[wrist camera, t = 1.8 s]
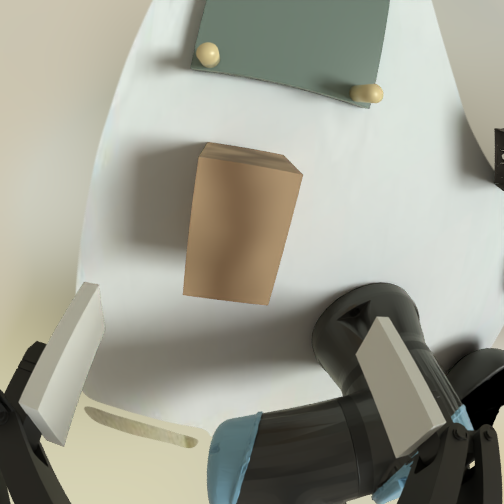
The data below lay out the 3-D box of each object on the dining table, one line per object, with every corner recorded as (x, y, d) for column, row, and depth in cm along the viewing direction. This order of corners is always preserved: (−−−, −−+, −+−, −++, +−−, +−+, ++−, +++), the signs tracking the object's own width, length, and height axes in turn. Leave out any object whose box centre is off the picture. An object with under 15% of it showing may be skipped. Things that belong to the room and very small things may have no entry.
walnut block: (283, 154, 26) (303, 174, 19) (259, 258, 31) (268, 305, 24) (207, 141, 25) (198, 156, 18) (192, 248, 30) (182, 294, 23)
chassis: (386, -21, 17) (410, -35, 13) (362, 108, 24) (387, 110, 20) (229, -64, 15) (230, -89, 10) (192, 70, 22) (184, 62, 18)
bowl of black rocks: (410, 403, 51) (439, 472, 35) (443, 341, 42) (493, 423, 25) (473, 379, 52) (505, 434, 35) (507, 317, 42) (554, 377, 26)
